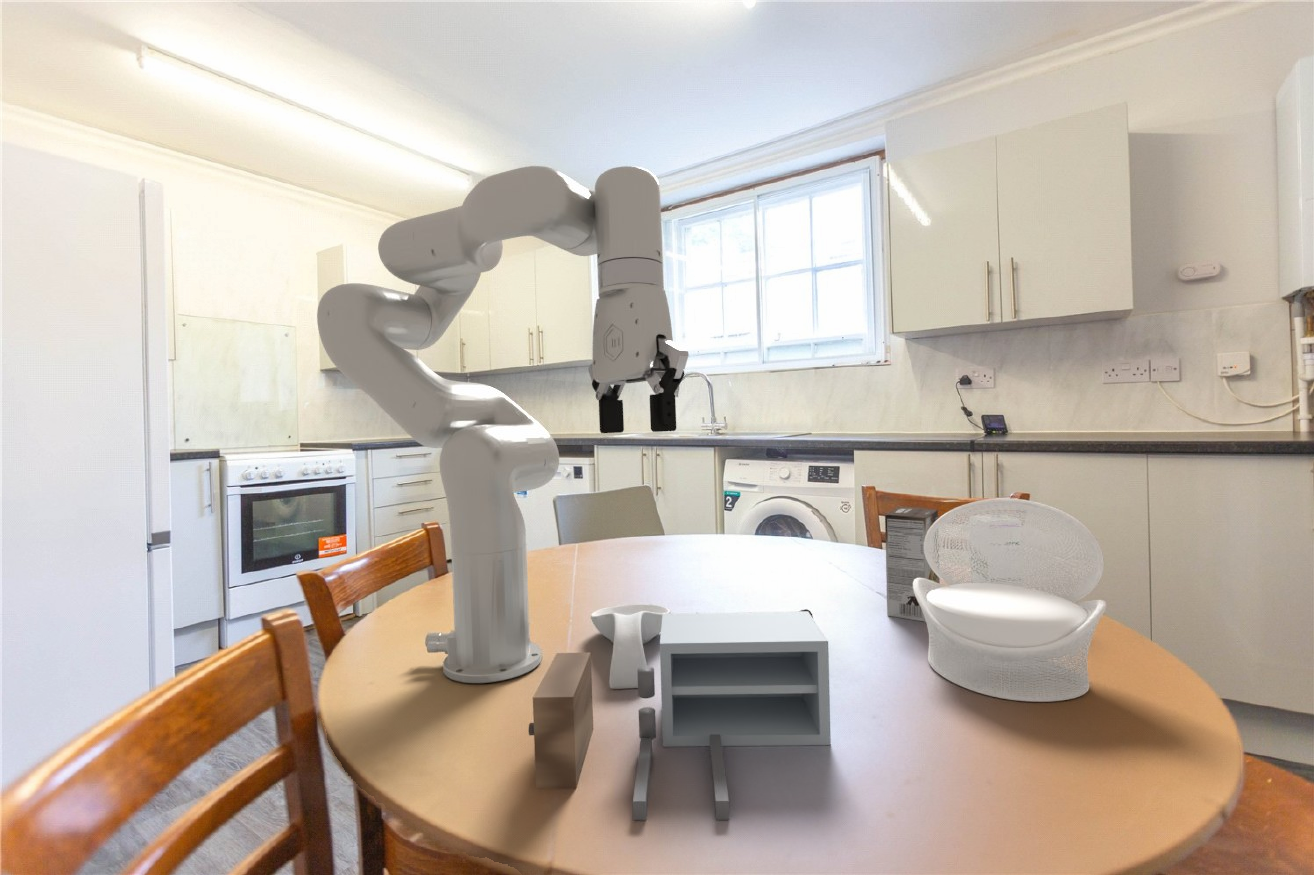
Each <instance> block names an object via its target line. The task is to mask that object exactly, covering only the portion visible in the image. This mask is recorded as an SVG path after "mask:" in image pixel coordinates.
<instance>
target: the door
mask: <svg viewBox="0 0 1314 875" xmlns="http://www.w3.org/2000/svg"><path fill="white" fill-rule="evenodd" d="M592 675H593V674H592V654H591V652H558V653H556V654H555V656H554V657H553V659H552V662H551V663H550V665H549V667H548V669H547V670H546V672H545V674H544V676H543V678H542V679H541V681H540V684H539V686H538V687H537V689H536V691H535V692H534V695H533V696H532V711H533V712H532V715H533V722H529V724H528V736H533V742H534V743H533V744H534V763H535V766H534V767H535V768H534V771H535V789H537V790H543V789H544V790H546V789H547V790H549V789H550V790H555V789H556V790H563V789H566V790H567V789H570V790H571V789H573V790H575V789H576V790H577V788H578V785H579V781H580V777H581V774H582V770H583V768H584V764H585V760H586V757H587V752H588V750H589V746H590V742H591V740H592V735H593V732H594V710H593V709H594V707H593V679H592V678H593V677H592Z"/></svg>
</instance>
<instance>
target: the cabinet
mask: <svg viewBox="0 0 1314 875" xmlns="http://www.w3.org/2000/svg"><path fill="white" fill-rule="evenodd" d="M812 616H813V615H812ZM812 616H811V615H810V614H809V612H808V611H801V610H799V611H755V612H753V611H749V612H748V611H747V612H742V611H741V612H739V611H738V612H701V613H700V612H699V613H698V612H695V613H694V612H691V613H690V612H689V613H688V612H687V613H670V614H663V615H662V626H661V632H660V639H659V660H660V662H659V664H660V688H661V689H660V691H661V692H660V693H661V723H662V724H661V725H662V747H665V748H666V747H709V751H710V752H709V754H710V762H711V774H712V776H711V777H712V784H713V785H712V786H713V796H714V806H715V818H716V821H729V820H730V801H729V793H728V784H727V778H726V777H727V776H726V769H725V762H724V761H725V760H724V754H723V747H753V746H754V747H762V746H764V747H765V746H769V747H771V746H772V747H773V746H779V747H780V746H785V747H787V746H831V745H832V744H831V740H832V739H831V735H832V734H831V704H830V703H831V702H830V697H831V696H830V667H829V666H830V662H829V659H830V658H829V657H830V656H829V640H828V638H827V637H826V636H825V634H824V632H823V631H822V629H821V628H820V626H819V625H818V624H817V622H816V621H815V620H814V617H813V618H812ZM637 676H638V688H637V696H638V697H639V698H641V699H651V698H653V697H655V695H656V689H655V687H656V686H655V668H654V667H652V666H651V665H650V666H648V665H647V666H643V667H640V668H638V669H637ZM656 720H657V719H656V709H655V708H653V707H651V706H649V707H648V706H647V707H641V708H640V709H639V710H638V734H639V739H640V742H639V743H640V744H639V749H638V750H639V751H638V758H637V766H636V775H635V781H634V783H635V784H634V790H633V798H632V814H633V815H632V816H633V817H632V818H633V821H647V815H648V804H649V803H648V802H649V792H650V780H651V770H652V769H651V768H652V758H653V757H652V756H653V740H654V739H656V737H657V722H656Z"/></svg>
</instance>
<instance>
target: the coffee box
mask: <svg viewBox="0 0 1314 875" xmlns="http://www.w3.org/2000/svg"><path fill="white" fill-rule="evenodd" d="M938 518H939V509H935V508H932V509H931V508H923V507H912V506H911V507H910V506H897V507H896V508H894V509H892V510H890V511H888V512H887V513H886V514H884V524H885V525H884V526H885V527H884V530H885V565H886V566H885V569H886V574H885V575H886V578H885V579H886V612H887V613H886V616H888V617H893V618H899V619H900V618H901V619H905V620H906V619H907V620H912V621H918V622H924V623H926V620H925V617H924V614H923V611H922V609H921V606H920V605H919V603H918V601H917V599H916V596H915V594H914V590H913V581H914V579H916V578H925V579H928V580H931V581H934V582H937V583H939V584H941V579H940V578H939V577H938V576H937V575H936V574H935V572H934V571H933V570H932V569H931V567H930V566H929V564H928V562H927V560H926V557H925V554H924V540H925V536H926V534H927V532H928V530H929V528H930V527H931V526H932V525H933V523H934V522H935V521H936V520H937V519H938ZM933 534H934V533H933ZM935 534H936V533H935ZM937 534H938V533H937ZM935 536H936V535H935ZM937 537H938V536H937ZM933 538H934V537H933ZM935 538H936V537H935ZM934 540H935V539H934ZM936 541H937V539H936ZM934 543H935V542H934ZM936 543H937V542H936ZM939 544H940V542H939V543H938V545H939ZM936 545H937V544H936ZM934 546H935V545H934ZM936 547H937V546H936ZM936 549H937V548H936ZM938 550H939V548H938ZM934 551H935V549H934ZM937 552H938V551H937ZM939 554H940V553H939ZM939 554H938V556H939ZM935 555H936V554H935ZM932 556H933V555H932ZM935 558H936V557H935ZM932 559H933V558H932ZM935 562H936V561H935ZM936 563H937V562H936ZM938 564H939V562H938ZM938 566H939V565H938ZM931 589H932V588H931ZM929 591H930V590H929ZM927 593H928V592H927ZM927 593H926V595H927ZM923 594H924V593H923ZM924 597H925V596H924Z"/></svg>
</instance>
